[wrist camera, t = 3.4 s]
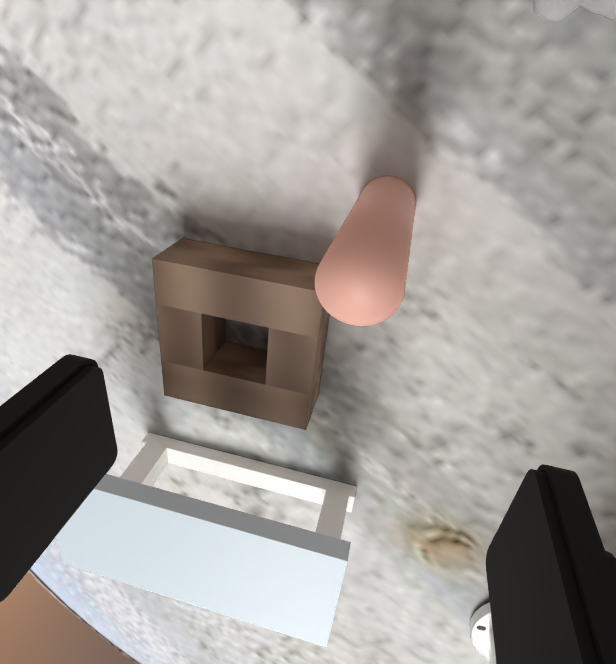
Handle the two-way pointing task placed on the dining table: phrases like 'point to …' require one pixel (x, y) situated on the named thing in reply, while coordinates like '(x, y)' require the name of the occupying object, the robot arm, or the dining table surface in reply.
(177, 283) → the socket block
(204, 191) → the dining table surface
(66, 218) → the dining table surface
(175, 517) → the small white step stool
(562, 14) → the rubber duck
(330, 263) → the peg
